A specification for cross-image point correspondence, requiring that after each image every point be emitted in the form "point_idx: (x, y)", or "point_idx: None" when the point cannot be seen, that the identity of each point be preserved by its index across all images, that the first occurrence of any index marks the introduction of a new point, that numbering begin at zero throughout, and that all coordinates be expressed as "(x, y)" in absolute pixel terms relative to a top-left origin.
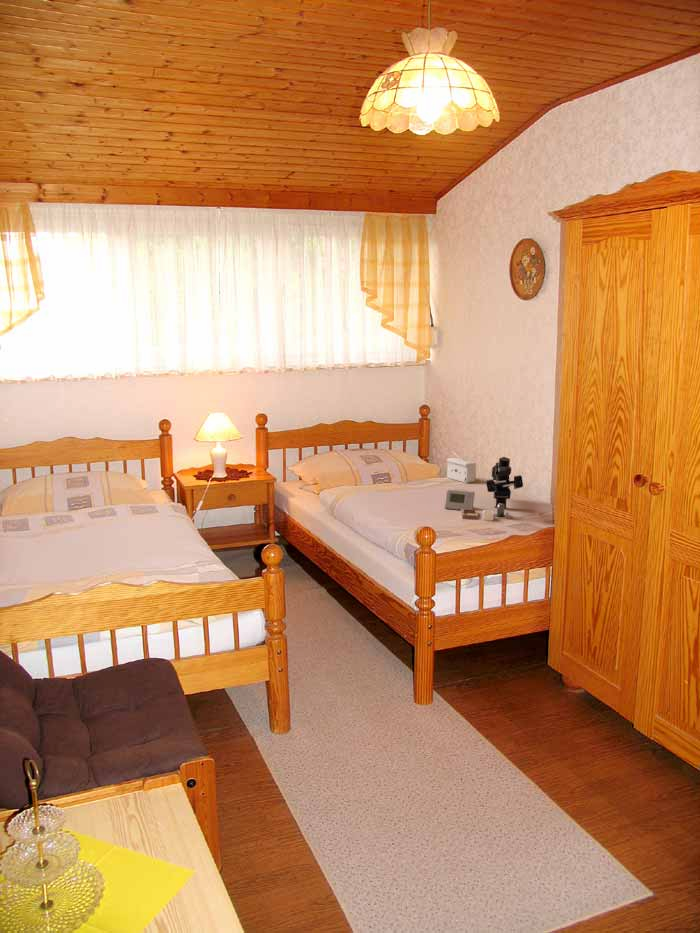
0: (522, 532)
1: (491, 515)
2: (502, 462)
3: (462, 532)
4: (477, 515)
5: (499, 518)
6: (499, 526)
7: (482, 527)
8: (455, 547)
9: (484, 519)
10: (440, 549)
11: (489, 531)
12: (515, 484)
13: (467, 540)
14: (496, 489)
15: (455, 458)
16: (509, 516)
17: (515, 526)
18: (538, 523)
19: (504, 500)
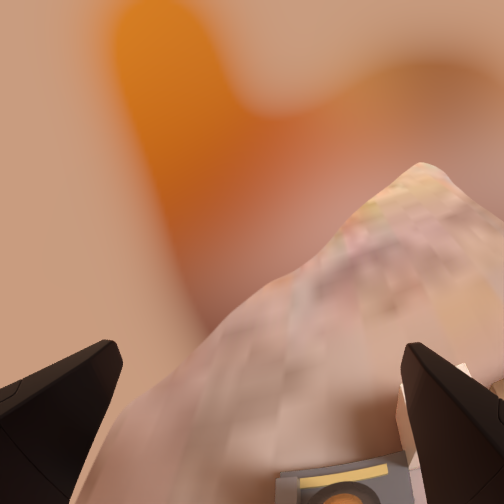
0: (249, 307)
1: None
2: None
3: (456, 237)
4: (499, 389)
5: (355, 471)
6: (348, 354)
7: (422, 309)
8: (411, 174)
9: None
10: (429, 164)
11: (378, 276)
12: (43, 369)
13: (409, 201)
14: (419, 348)
15: None
16: (278, 479)
17: (263, 379)
18: (132, 449)
19: None
